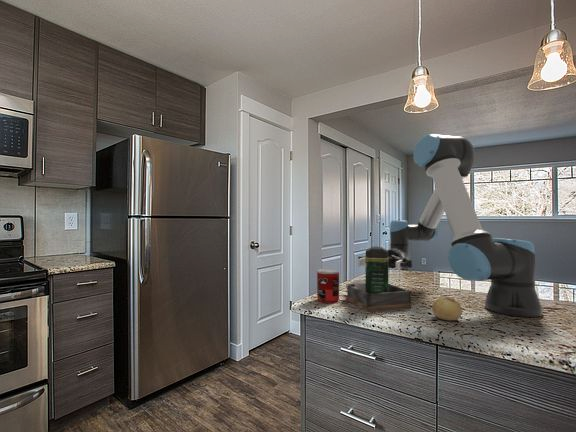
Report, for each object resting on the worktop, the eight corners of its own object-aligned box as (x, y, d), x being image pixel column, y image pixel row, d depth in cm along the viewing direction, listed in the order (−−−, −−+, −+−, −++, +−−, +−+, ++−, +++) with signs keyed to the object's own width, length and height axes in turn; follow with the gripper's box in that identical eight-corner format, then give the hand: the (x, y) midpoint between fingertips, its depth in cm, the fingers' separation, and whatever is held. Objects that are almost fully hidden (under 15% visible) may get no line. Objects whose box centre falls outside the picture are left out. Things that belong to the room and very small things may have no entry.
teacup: (369, 292, 124) (369, 279, 124) (373, 297, 117) (373, 283, 117) (344, 292, 125) (344, 279, 125) (346, 297, 118) (346, 283, 118)
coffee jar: (389, 303, 103) (389, 248, 103) (365, 301, 105) (364, 247, 105) (387, 296, 112) (387, 245, 112) (365, 295, 114) (365, 245, 114)
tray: (410, 307, 103) (410, 291, 103) (368, 311, 99) (368, 294, 99) (383, 296, 118) (383, 282, 118) (346, 299, 114) (346, 284, 114)
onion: (428, 319, 91) (428, 295, 91) (436, 313, 97) (435, 290, 97) (459, 325, 86) (458, 300, 86) (464, 318, 92) (464, 294, 92)
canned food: (315, 298, 116) (315, 269, 116) (335, 297, 117) (335, 268, 117) (319, 303, 108) (319, 272, 108) (341, 302, 109) (341, 272, 109)
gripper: (425, 269, 121) (414, 278, 103) (364, 264, 135) (344, 271, 117) (425, 250, 121) (414, 256, 103) (364, 247, 135) (344, 251, 117)
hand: (377, 264), depth 110 cm, fingers open, 13 cm apart
